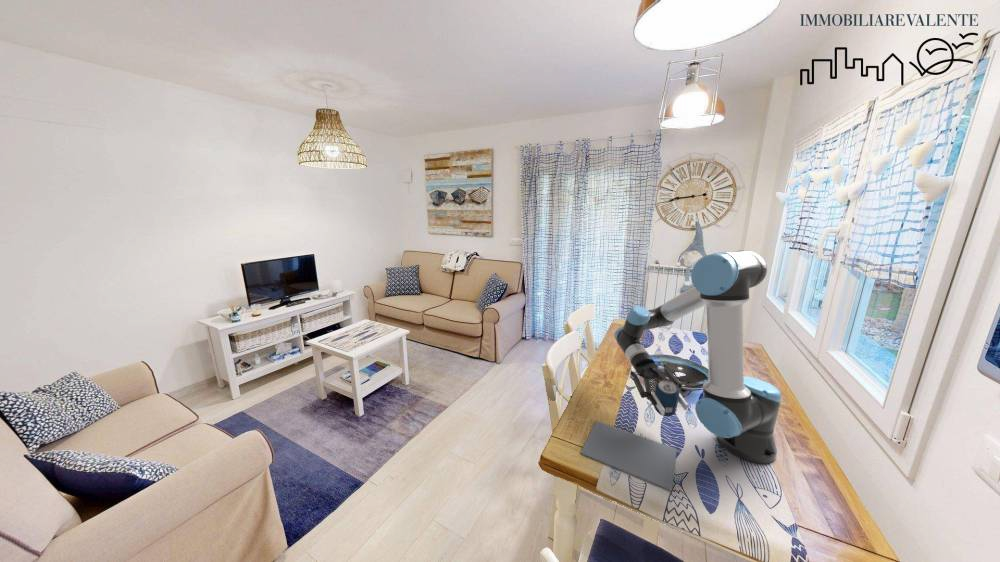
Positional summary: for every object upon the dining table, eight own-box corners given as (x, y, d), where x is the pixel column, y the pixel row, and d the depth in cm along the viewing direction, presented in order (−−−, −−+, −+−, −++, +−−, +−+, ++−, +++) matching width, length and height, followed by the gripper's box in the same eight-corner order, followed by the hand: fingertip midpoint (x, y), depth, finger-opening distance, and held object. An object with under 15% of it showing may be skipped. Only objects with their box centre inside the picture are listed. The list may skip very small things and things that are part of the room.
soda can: (651, 400, 111) (653, 377, 105) (672, 400, 110) (675, 377, 104) (656, 418, 106) (659, 395, 99) (678, 418, 104) (683, 395, 98)
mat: (676, 450, 101) (676, 448, 101) (671, 491, 87) (672, 490, 87) (596, 421, 115) (596, 420, 115) (580, 453, 100) (580, 452, 100)
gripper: (664, 360, 122) (703, 410, 102) (614, 370, 122) (644, 423, 102) (665, 346, 118) (707, 395, 98) (614, 357, 118) (645, 409, 98)
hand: (675, 409), depth 100 cm, fingers closed on soda can, 7 cm apart
